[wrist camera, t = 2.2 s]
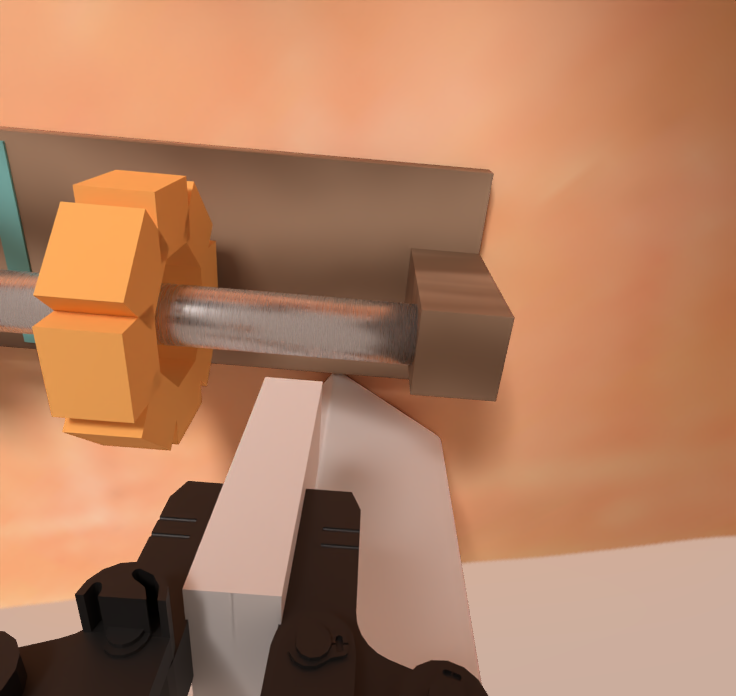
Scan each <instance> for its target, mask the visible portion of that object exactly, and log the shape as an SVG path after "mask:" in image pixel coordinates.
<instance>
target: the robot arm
mask: <svg viewBox="0 0 736 696" xmlns="http://www.w3.org/2000/svg"><path fill="white" fill-rule="evenodd" d="M322 386H323V382H322V381H310V380H297V379H285V378H272V377H265V379H264V382H263V384H262V387H261V389H260V392H259V395H258V397H257V400H256V402H255V405H254V407H253V410H252V412H251V415H250V418H249V420H248V423H247V425H246V428H245V430H244V433H243V435H242V438H241V441H240V443H239V446H238V448H237V451H236V453H235V456H234V458H233V461H232V464H231V466H230V469H229V471H228V474H227V476H226V479H225V481H224V484H220V483H207V482H194V481H188V482H186V483H185V484H184V485H183V486H182V487H181V488H179V489H178V490H177V491H176V492H175V493H174V494H173V495H171V496H170V498H169V500H168V502H167V504H166V505H165V507H164V509H163V511H162V513H161V515H160V520H158V521H157V523H156V525H155V527H154V529H153V531H152V535H151V537H149V539H148V541H147V543H146V545H145V547H144V549H143V551H142V553H141V555H140V557H139V558H138V560H137V562H129V563H120V564H117V565H114V566H112V567H109V568H106V569H103V570H102V571H100V572H99V573H97V574H96V575H94V576H93V577H91V578H90V579H88V580H87V581H86V582H85V583H84V584H83V586H82V587H81V588H80V589H79V590H78V591H77V593H76V594H75V597H76V601H77V605H78V610H79V614H80V619H81V623H82V627H83V630H82V631H80V632H78V633H76V634H73V635H69V636H66V637H63V638H59V639H55V640H50V641H46V642H42V643H37V644H32V645H28V646H23V647H19V648H18V645H17V642H16V639H14V638H13V637H12V636H10V635H9V634H7V633H6V632H3V631H0V696H188V693H189V690H190V686H191V683H192V690H193V696H488V695H487V693H486V691H485V690H484V688H483V686H482V685H481V683H480V681H479V680H478V679H477V678H476V677H475V676H474V675H473V674H471V673H470V672H469V671H468V670H467V669H466V668H464V667H462V666H460V665H457V664H455V663H452V662H450V661H445V660H430V661H427V662H425V663H422V664H420V665H417V666H416V667H415V668H414V669H410V668H408V667H406V666H403V665H401V664H398V663H396V662H394V661H391V660H389V659H387V658H385V657H384V656H382V655H380V654H378V653H377V652H376V651H375V650H374V649H373V648H372V647H370V646H369V645H368V643H367V642H366V640H365V639H364V637H363V636H362V635H361V632H360V629H359V627H358V624H357V615H356V608H357V586H358V563H359V540H360V517H361V509H360V507H359V505H358V503H357V501H356V499H355V497H354V495H353V493H352V492H344V491H331V490H318V489H315V484H316V477H317V471H318V465H319V445H320V425H321V406H322Z"/></svg>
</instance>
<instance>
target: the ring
mask: <svg viewBox="0 0 736 696" xmlns="http://www.w3.org/2000/svg"><path fill="white" fill-rule="evenodd" d="M73 191H74V197H75V203H72V202H60V204H59V208H58V211H57V215H56V218H55V221H54V225H53V228H52V232H51V235H50V239H49V242H48V245H47V249H46V252H45V256H44V259H43V263H42V266H41V269H40V273H39V276H38V280H37V283H36V287H35V290H34V293H33V296H35V297H36V298H37V299H39V300H40V301H42V302H43V303H44V304H46V305H47V306H48V307H50V308H51V309H52V310H54V311H53V312H52V313H50V314H49V315H47V316H46V317H45V318H43V319H42V320H41V321H39V322H38V323H36V324H35V325H34V326H32V330H33V334H34V339H35V343H36V348H37V352H38V357H39V361H40V366H41V370H42V375H43V379H44V384H45V388H46V393H47V397H48V402H49V406H50V411H51V415H52V417H62V418H66V419H65V423H64V427H63V431H62V432H64V433H67V434H70V435H73V436H76V437H79V438H82V439H86V440H89V441H92V442H95V443H98V444H101V445H107V446H120V447H133V448H146V449H158V450H171V446H172V444H179V443H180V441H181V439H182V438H183V436H184V434H185V432H186V430H187V429H188V427H189V425H190V423H191V421H192V419H193V418H194V416H195V414H196V412H197V410H198V409H199V407H200V405H201V403H202V396H201V386H207V383H208V377H209V371H210V365H211V359H212V353H213V349H207V348H195V347H183V346H170V345H158V344H157V337H156V328H155V318H154V316H155V311H156V307H157V302H158V297H159V293H160V288H161V283H169V284H181V285H193V286H205V287H217V288H218V277H217V256H216V241H212V240H210V236H211V231H212V226H213V224H212V222H211V219H210V217H209V215H208V212H207V210H206V208H205V206H204V203H203V201H202V199H201V196H200V194H199V192H198V190H197V187H196V185H195V183H194V182H193V181H187V179H186V176H182V175H171V174H159V173H148V172H136V171H125V170H114V171H111V172H108V173H105V174H102V175H99V176H97V177H94V178H91V179H88V180H85V181H82V182H79V183H77V184H74V185H73Z"/></svg>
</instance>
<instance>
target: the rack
mask: <svg viewBox="0 0 736 696" xmlns="http://www.w3.org/2000/svg"><path fill="white" fill-rule="evenodd" d="M114 170H125V171H136V172H148V173H159V174H171V175H182V176H186V179H187V181H193V182H194V183H195V185H196V187H197V190H198V192H199V194H200V196H201V199H202V201H203V203H204V206H205V208H206V210H207V212H208V215H209V217H210V219H211V222H212V224H213V226H212V231H211V236H210V240H212V241H216V256H217V277H218V288H229V289H241V290H253V291H265V292H277V293H289V294H301V295H313V296H325V297H337V298H349V299H360V300H372V301H384V302H396V303H408V304H417V309H418V324H417V338H416V347H415V354H414V359H413V363H412V365H403V364H391V363H378V362H366V361H354V360H342V359H329V358H317V357H305V356H293V355H280V354H268V353H256V352H244V351H232V350H219V349H213V353H212V359H211V363H215V364H227V365H239V366H252V367H264V368H276V369H289V370H301V371H313V372H326V373H338V374H350V375H362V376H375V377H387V378H399V379H409V385H410V395H423V396H435V397H448V398H460V399H472V400H485V401H496V398H497V394H498V389H499V385H500V380H501V376H502V371H503V367H504V362H505V358H506V354H507V349H508V345H509V340H510V336H511V331H512V327H513V322H514V316H513V314H512V312H511V310H510V309H509V307H508V305H507V303H506V301H505V300H504V298H503V296H502V294H501V292H500V291H499V289H498V287H497V285H496V283H495V282H494V280H493V278H492V276H491V274H490V273H489V271H488V269H487V267H486V265H485V264H484V262H483V260H482V258H481V256H480V255H479V251H480V246H481V240H482V235H483V229H484V224H485V218H486V213H487V207H488V201H489V196H490V190H491V185H492V179H493V173H492V172H491V171H490V170H485V169H473V168H462V167H451V166H440V165H428V164H417V163H406V162H394V161H383V160H372V159H360V158H349V157H338V156H326V155H315V154H304V153H292V152H281V151H270V150H259V149H247V148H236V147H225V146H213V145H202V144H191V143H179V142H168V141H157V140H145V139H134V138H123V137H111V136H100V135H89V134H78V133H66V132H55V131H44V130H32V129H21V128H10V127H0V269H2V270H14V271H26V272H38V273H40V269H41V266H42V263H43V259H44V256H45V252H46V249H47V245H48V242H49V239H50V235H51V232H52V228H53V225H54V221H55V218H56V215H57V211H58V208H59V204H60V202H72V203H75V197H74V191H73V185H74V184H77V183H79V182H82V181H85V180H88V179H91V178H94V177H97V176H99V175H102V174H105V173H108V172H111V171H114ZM0 346H6V347H18V348H30V349H37V348H36V343H35V339H34V334H24V333H11V332H0Z"/></svg>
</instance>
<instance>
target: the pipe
mask: <svg viewBox="0 0 736 696" xmlns="http://www.w3.org/2000/svg"><path fill="white" fill-rule="evenodd" d="M38 276H39V273H38V272H26V271H14V270H2V269H0V332H11V333H24V334H33V330H32V326H34V325H35V324H36V323H38V322H39V321H41V320H42V319H43V318H45V317H46V316H47V315H49V314H50V313H52V312H53V311H54V310H52V309H51V308H50V307H48V306H47V305H46V304H44V303H43V302H42V301H40V300H39V299H37V298H36V297H35V296H33V293H34V290H35V287H36V283H37V280H38ZM154 318H155V328H156V337H157V344H158V345H170V346H183V347H195V348H207V349H219V350H232V351H244V352H256V353H268V354H280V355H293V356H305V357H317V358H329V359H342V360H354V361H366V362H378V363H391V364H403V365H412V363H413V359H414V354H415V347H416V338H417V324H418V309H417V304H408V303H396V302H384V301H372V300H360V299H349V298H337V297H325V296H313V295H301V294H289V293H277V292H265V291H253V290H241V289H229V288H217V287H205V286H193V285H181V284H169V283H161V288H160V293H159V297H158V302H157V307H156V311H155V316H154Z"/></svg>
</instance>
